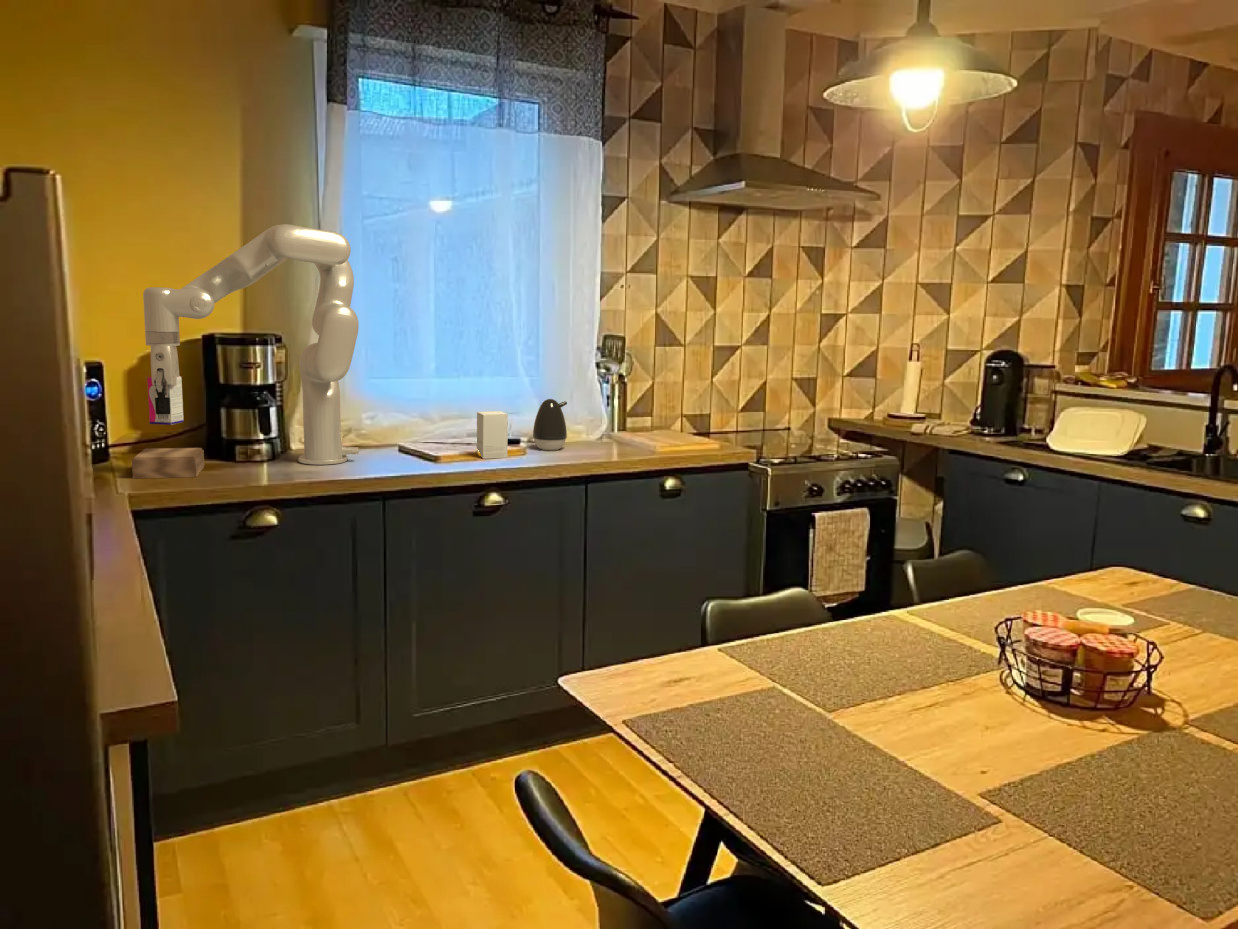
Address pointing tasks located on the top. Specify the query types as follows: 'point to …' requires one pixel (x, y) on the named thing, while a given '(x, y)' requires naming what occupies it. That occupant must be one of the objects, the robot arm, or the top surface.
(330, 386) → the robot arm
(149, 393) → the supplement box
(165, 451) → the block
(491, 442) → the supplement box
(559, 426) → the pump dispenser
